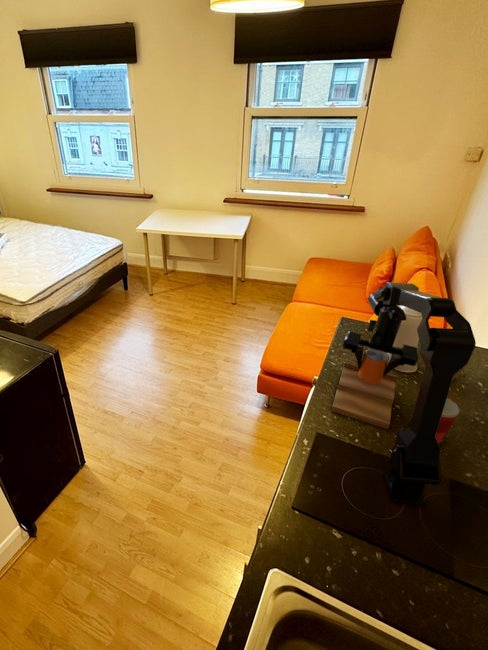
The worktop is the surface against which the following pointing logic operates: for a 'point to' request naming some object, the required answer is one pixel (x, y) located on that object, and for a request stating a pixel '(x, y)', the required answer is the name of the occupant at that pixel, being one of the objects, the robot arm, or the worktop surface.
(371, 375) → the orange tin
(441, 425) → the canned food
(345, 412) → the spice shelf
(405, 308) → the spray can
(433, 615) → the worktop surface
